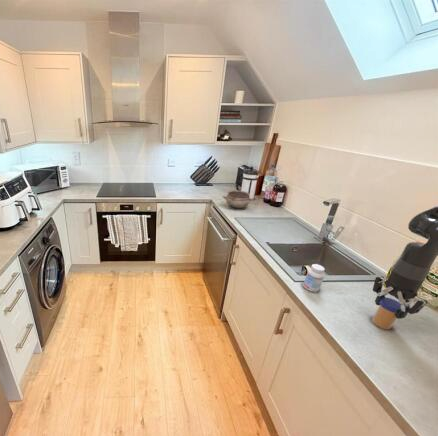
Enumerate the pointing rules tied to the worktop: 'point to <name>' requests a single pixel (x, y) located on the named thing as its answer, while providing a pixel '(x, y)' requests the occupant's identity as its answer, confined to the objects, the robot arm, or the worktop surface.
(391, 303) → the lid
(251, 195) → the coffee press
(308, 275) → the pill bottle
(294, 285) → the worktop surface
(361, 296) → the worktop surface
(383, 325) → the jar
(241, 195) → the cooking pot
